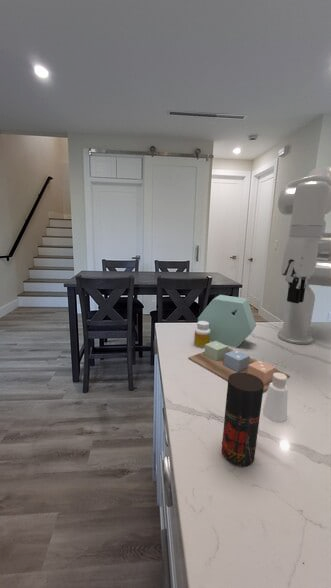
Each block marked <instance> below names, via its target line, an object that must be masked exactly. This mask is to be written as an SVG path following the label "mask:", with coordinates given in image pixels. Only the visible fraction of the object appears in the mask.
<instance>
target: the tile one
mask: <svg viewBox="0 0 331 588" xmlns="http://www.w3.org/2000/svg"><path fill="white" fill-rule="evenodd" d="M228 348H229V346H227V345H224V344H222V343H220V342H217V341H214V342H210V343H208V344H205V348H204V351H203V352H204V355H205V356H207V357H209V358H211V359H213V360H215V361H219V360H221V359H224V358H225V354H226V353H227V351H228Z"/></svg>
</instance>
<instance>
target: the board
mask: <svg viewBox="0 0 331 588" xmlns="http://www.w3.org/2000/svg"><path fill="white" fill-rule="evenodd" d="M234 350H235V349H233V348H229V347H228V351H227V353H229V352H231V351H234ZM204 352H205V351H202V352H200V353H196V354H193V355H191V356H188V358H187V359H188V360H189V361H191V362H192V363H195V364H197V365H198V366H199V367H202V368H203V369H205V370H207V371H209V372H210V373H212V374H214V375H216V376H218V377H219V378H221V379H223V380H225V381H226V382H228V378H229V376H230V375H231V374H233V373H238V372H236V371H234V370H232V369H230V368H228V367H226V366H224V359H225V358H224V359H221V360H219V361H215V360H213V359H211V358H209V357H207V356H205V355H204ZM256 361H258V360H257V359H254V358H252V357H250V359H249V364H252V363H254V362H256ZM247 372H248V368H247V369H245V370H243V371H241V372H239V373H247ZM275 373H282V374H284V375H286V376H287V379H289V378H290V375H289V374H288V373H286V372H283V371H281V370H280V369H279V370H278V369H276V368H275ZM270 383H271V382H270ZM270 383H268V384H267V385H265V386H264V389H263V394H264V393H267V391H268V387H269V384H270Z"/></svg>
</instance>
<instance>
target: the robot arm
mask: <svg viewBox="0 0 331 588" xmlns="http://www.w3.org/2000/svg"><path fill="white" fill-rule="evenodd" d="M277 206H278V207H277V208H278V211H279V212H280V214H282V215H285V216H287V215H288V216H291V219H290V226H289V232H288V233H289V234H288V239H287V241H286V246H285V249H284V254H283V258H282V263H281V269H280V274H281V275H282V276H283V277H284V276H285V278H284V280H285V282H287V283H288V284H287V287H288V288H287V296H286V303H285V309H284V317H283V324H282V328H281V330H278V331H277V337H278V338H279V339H281V340H282V341H285V342H286V343H287V342H288V343H291V344H297V345H309V344H312V343H313V341H314V338H313V337H312V336H311V334H310V331H312V330H313V327H312V326H311V325H312V319H313V314H314V313H313V312H314V309H315V308H314V307H315V301H316V296H315V293H314V291H313V290H312V288H311V285H312V286H320V287H330V288H331V232H326V231H325V230H326V227H327V225H326V224H327V223H326V220H325V217H326V216H325V215H327V214H328V213H330V212H331V165H330V166H329V165H328V166H320V167H319V166H318V167H316V168H314V169H311V170H310V171H309V172H308V174H307V175H306V176H305V177H301V178H299V179H295V180H292V181H290V182H289V181H288V183H286V184H285V185H284V187H283V188H282V189H281V191H280V193H279V196H278V200H277Z"/></svg>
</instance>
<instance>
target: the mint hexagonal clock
mask: <svg viewBox="0 0 331 588" xmlns="http://www.w3.org/2000/svg"><path fill="white" fill-rule="evenodd" d="M233 313H234V314H233ZM198 321H206V322H208V323H209V329H210V331H211V333H210V343H211V342H214V341H217V342H220V343H222V344H224V345H226V346H228V347H232V348H236V349H237V348H238V347H239V346H240V345H241V344H242V343H243V342H244V341H245V340H246V339H247V338H248V337H249V336H251V334H252V333H253V332H254V330H255V329H256V326H257V324H256V320H255V317H254V314H253V311H252V308H251V304H250V301H249V299H248V298H245V297H238V296H230V295H225V294H219V295H217V296H215V297H214V298H213V299H212V300H211V301H210V302H209V304H208V305H206V307H205V308H204V310H202V312H201V313H200V315H199V316H198V317H197V322H198Z"/></svg>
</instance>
